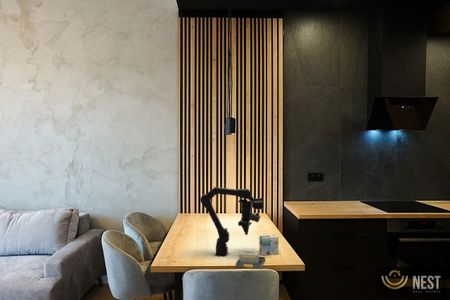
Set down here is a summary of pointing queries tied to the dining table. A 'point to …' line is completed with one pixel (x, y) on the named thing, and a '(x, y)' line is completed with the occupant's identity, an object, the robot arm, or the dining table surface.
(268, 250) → the light bulb box
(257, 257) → the panel
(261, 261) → the grey shallow square tray
